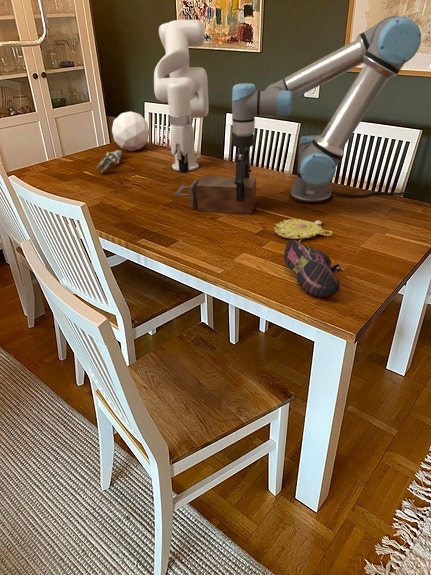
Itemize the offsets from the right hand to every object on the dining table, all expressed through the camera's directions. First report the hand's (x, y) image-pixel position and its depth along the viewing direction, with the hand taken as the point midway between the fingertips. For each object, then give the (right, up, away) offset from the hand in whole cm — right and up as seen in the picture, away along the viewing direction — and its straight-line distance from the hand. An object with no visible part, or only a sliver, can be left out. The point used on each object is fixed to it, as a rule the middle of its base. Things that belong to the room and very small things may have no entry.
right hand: (242, 195), depth 163 cm
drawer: (-12, -2, +5) cm, 13 cm away
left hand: (-22, +9, 0) cm, 23 cm away
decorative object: (+18, -16, -17) cm, 29 cm away
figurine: (-61, +25, +52) cm, 84 cm away
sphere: (-54, +40, +75) cm, 101 cm away
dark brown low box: (-6, -4, +4) cm, 8 cm away
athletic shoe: (+17, -32, -42) cm, 55 cm away
